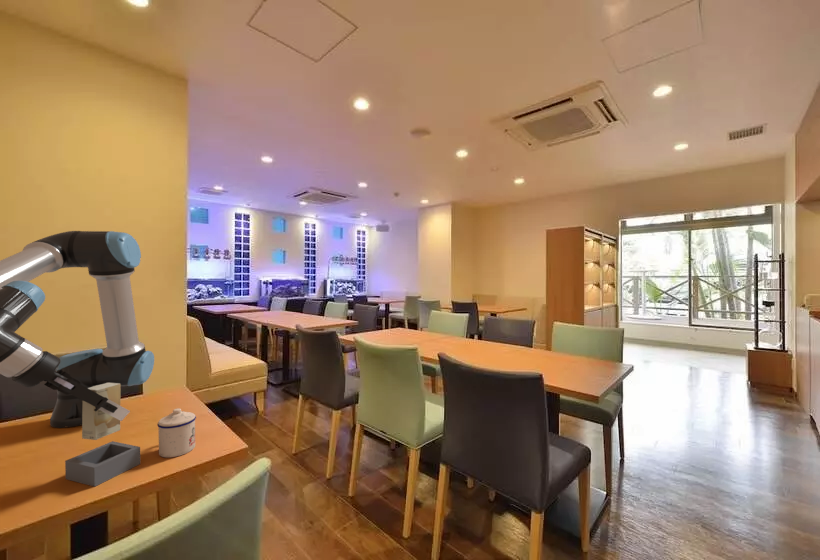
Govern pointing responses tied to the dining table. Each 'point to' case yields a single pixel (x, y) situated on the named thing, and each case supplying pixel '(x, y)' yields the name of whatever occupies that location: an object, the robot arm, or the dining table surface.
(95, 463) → the tray
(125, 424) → the dining table surface
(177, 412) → the teacup with lid
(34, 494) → the dining table surface
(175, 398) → the dining table surface
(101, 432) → the skincare box
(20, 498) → the dining table surface
